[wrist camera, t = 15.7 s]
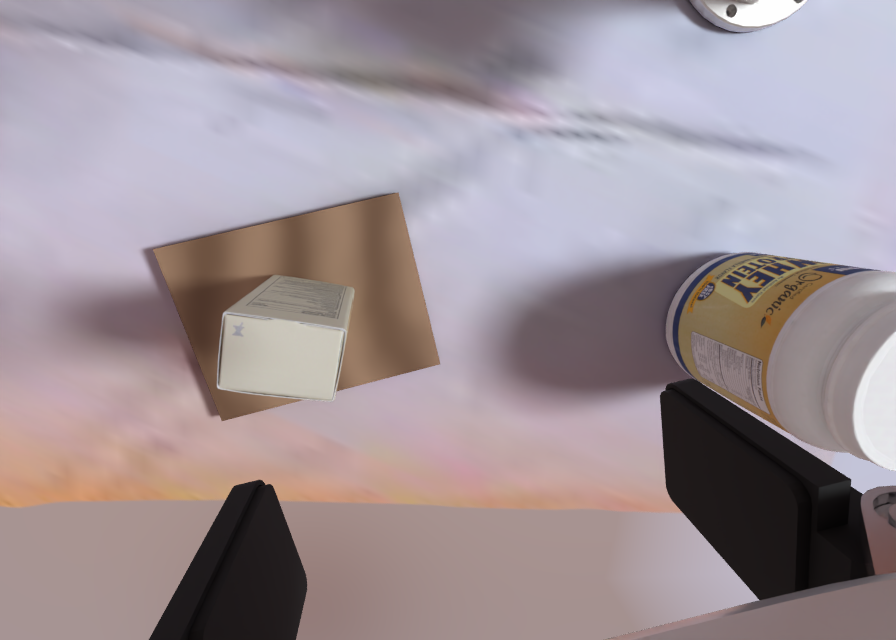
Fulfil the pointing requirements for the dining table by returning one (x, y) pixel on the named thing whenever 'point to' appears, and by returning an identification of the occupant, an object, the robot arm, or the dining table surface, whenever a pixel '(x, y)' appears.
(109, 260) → the dining table surface
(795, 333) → the supplement tub
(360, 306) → the walnut board
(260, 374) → the skincare box
